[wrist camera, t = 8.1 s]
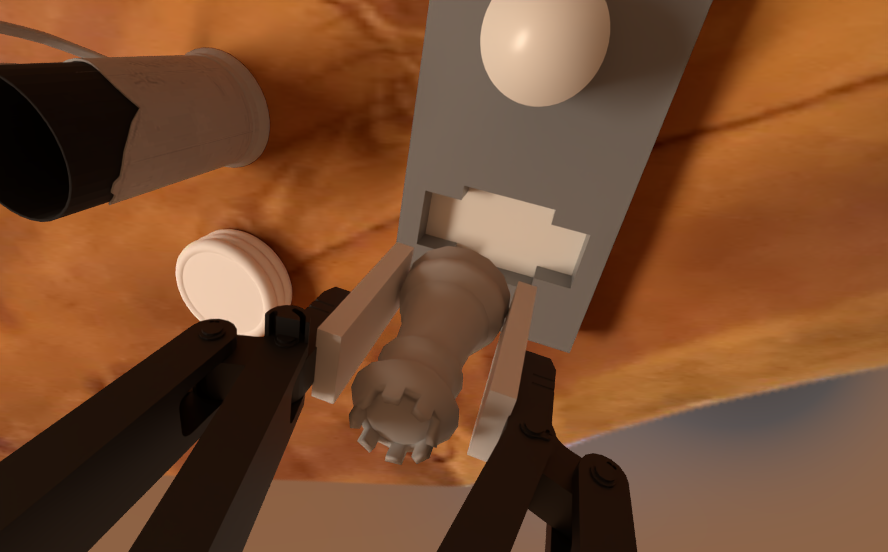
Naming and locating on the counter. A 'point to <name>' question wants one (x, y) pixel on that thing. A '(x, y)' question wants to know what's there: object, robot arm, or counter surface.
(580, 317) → the grey panel with recess
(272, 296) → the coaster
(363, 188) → the counter surface
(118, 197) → the glass holder
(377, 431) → the rook chess piece
